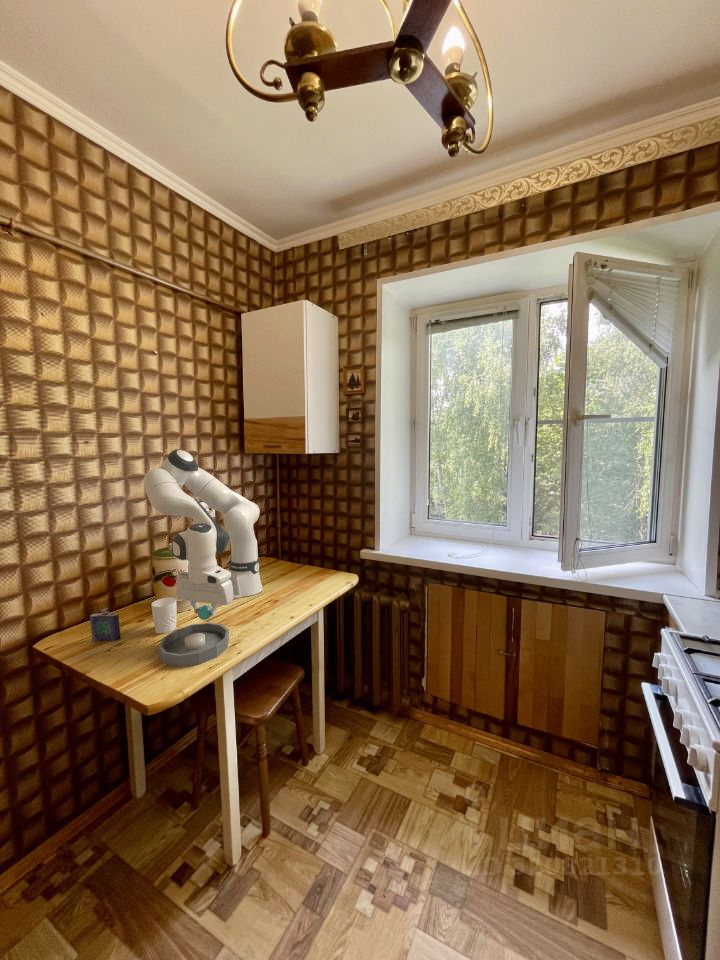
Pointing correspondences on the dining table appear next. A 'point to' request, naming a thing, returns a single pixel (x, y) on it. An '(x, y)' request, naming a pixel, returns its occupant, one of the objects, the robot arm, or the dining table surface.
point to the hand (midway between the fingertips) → (205, 613)
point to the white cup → (164, 615)
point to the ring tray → (193, 644)
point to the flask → (105, 626)
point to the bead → (204, 612)
